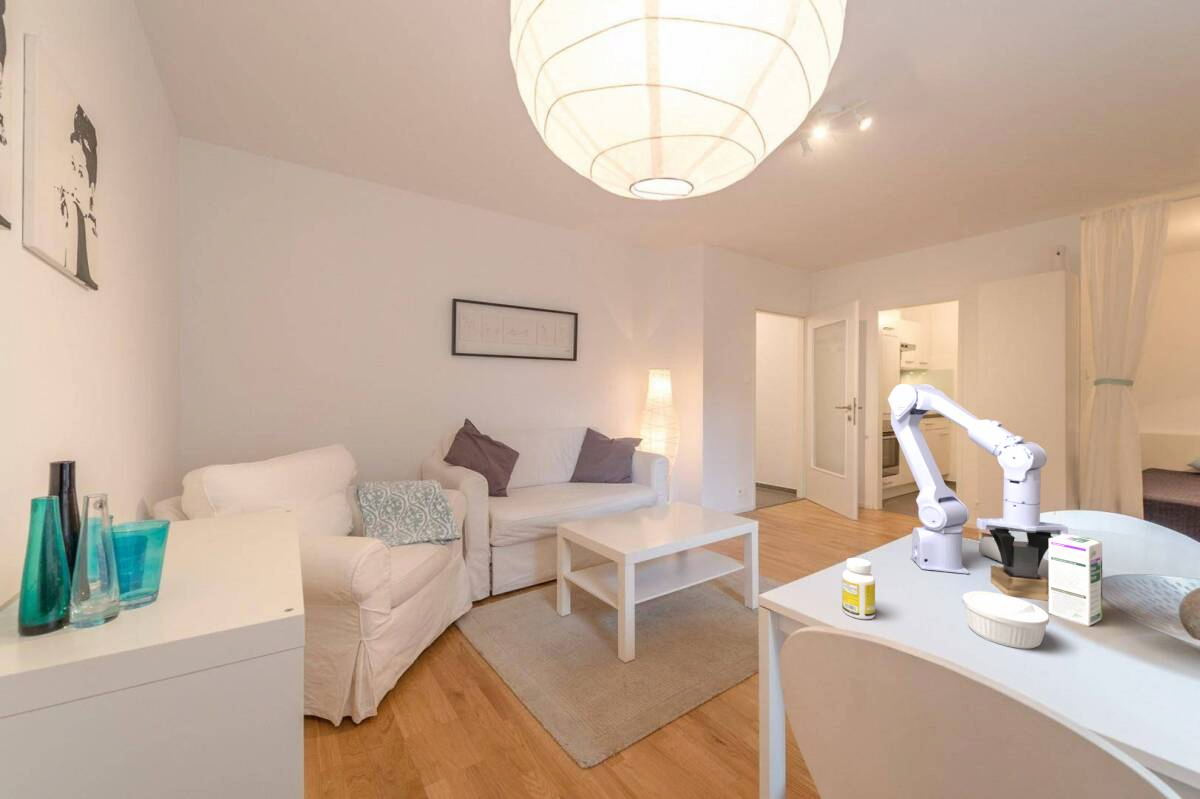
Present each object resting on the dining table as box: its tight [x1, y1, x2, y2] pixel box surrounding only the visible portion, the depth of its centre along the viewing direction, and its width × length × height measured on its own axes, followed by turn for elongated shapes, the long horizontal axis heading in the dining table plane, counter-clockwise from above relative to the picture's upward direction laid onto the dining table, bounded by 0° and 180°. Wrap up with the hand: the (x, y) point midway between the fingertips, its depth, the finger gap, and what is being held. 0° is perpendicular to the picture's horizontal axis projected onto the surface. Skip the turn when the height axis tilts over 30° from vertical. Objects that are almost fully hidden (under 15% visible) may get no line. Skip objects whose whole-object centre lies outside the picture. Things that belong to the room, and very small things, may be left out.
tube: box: [978, 536, 1049, 580], centre depth 106 cm, size 5×5×25 cm
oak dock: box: [990, 565, 1049, 602], centre depth 98 cm, size 7×7×4 cm
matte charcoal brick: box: [1003, 540, 1038, 580], centre depth 98 cm, size 4×4×8 cm
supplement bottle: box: [841, 557, 876, 620], centre depth 88 cm, size 5×5×10 cm
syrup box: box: [1048, 534, 1103, 627], centre depth 87 cm, size 6×6×14 cm
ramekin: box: [962, 590, 1050, 650], centre depth 81 cm, size 11×11×5 cm
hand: (1019, 566), depth 98 cm, fingers closed on matte charcoal brick, 4 cm apart
